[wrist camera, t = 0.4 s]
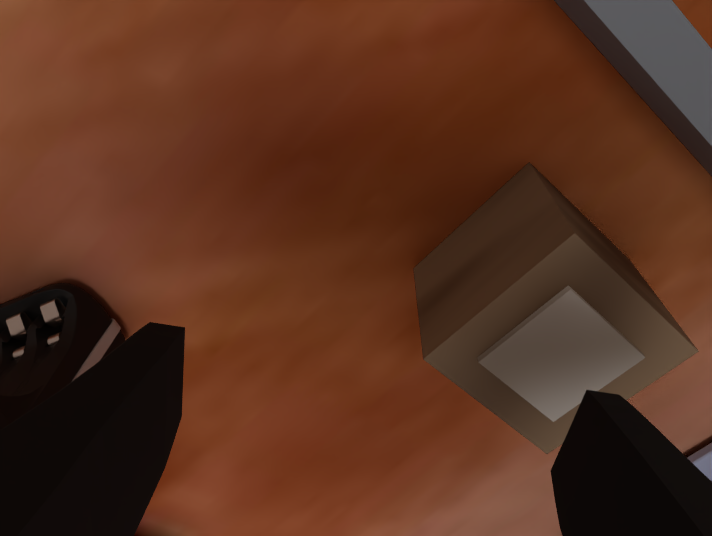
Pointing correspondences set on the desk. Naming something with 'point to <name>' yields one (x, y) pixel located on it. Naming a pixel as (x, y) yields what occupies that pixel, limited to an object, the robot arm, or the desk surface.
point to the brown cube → (540, 311)
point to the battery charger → (49, 345)
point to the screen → (656, 62)
